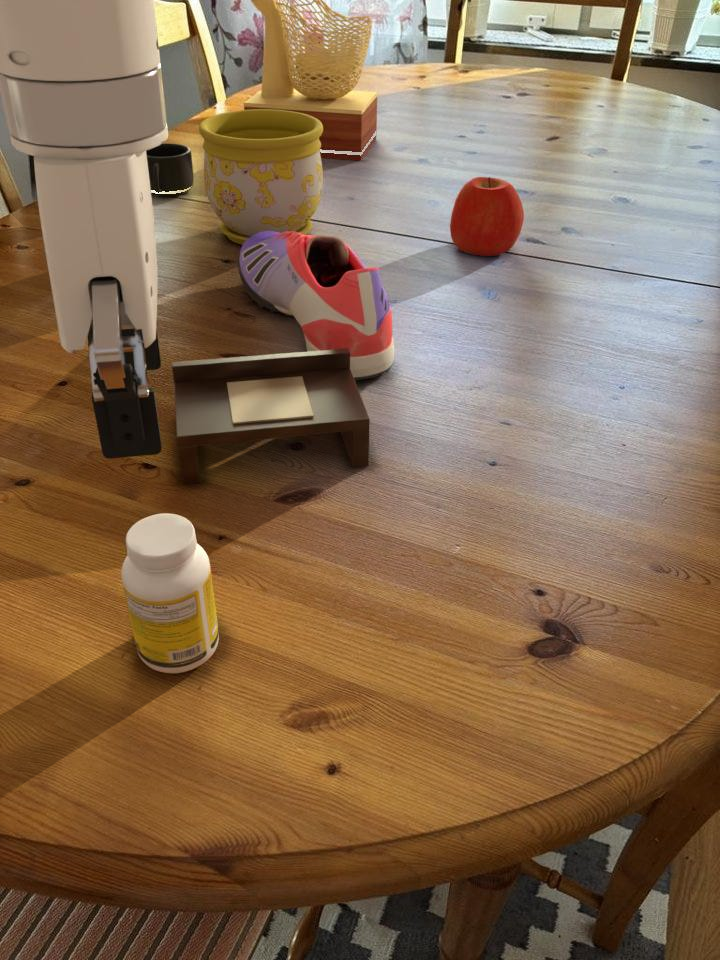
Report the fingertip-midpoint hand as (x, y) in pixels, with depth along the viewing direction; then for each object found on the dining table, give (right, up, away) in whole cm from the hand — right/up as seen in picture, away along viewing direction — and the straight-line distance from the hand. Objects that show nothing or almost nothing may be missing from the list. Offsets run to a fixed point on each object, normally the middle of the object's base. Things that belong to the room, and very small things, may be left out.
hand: (135, 408), depth 52 cm
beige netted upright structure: (+3, +64, +124) cm, 140 cm away
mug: (-20, +45, +97) cm, 109 cm away
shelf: (+5, -1, +35) cm, 36 cm away
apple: (+32, +31, +80) cm, 92 cm away
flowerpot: (-1, +34, +83) cm, 90 cm away
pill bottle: (0, -17, +13) cm, 22 cm away
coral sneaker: (+7, +16, +58) cm, 61 cm away
